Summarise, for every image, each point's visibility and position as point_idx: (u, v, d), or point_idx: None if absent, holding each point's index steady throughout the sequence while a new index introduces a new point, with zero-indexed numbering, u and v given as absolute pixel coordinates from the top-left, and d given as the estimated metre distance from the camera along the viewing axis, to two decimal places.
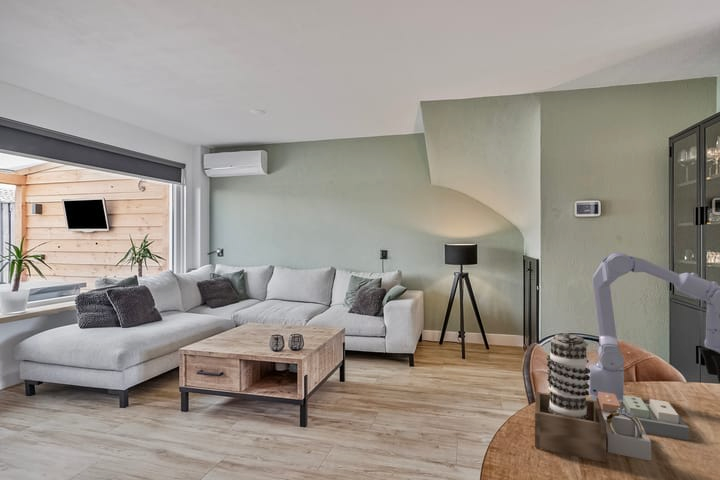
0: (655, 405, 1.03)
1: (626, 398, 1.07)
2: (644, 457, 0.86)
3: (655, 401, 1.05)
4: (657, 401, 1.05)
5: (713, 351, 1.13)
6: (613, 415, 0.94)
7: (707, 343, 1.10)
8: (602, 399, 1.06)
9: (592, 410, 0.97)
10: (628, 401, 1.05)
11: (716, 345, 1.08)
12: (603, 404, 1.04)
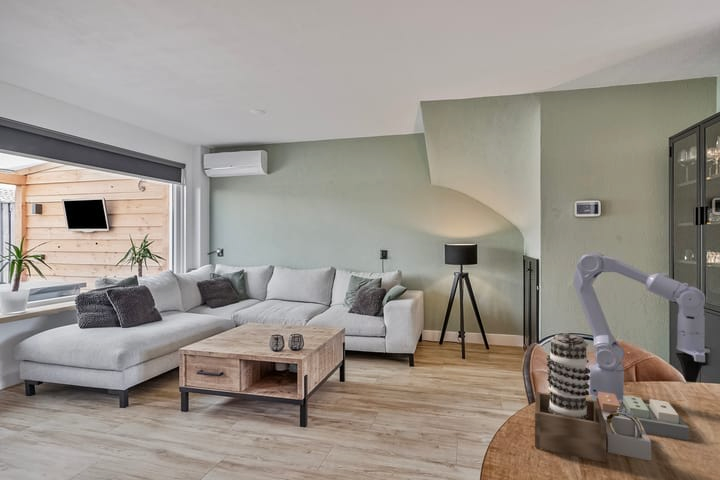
0: (655, 405, 1.03)
1: (626, 398, 1.07)
2: (644, 457, 0.86)
3: (655, 401, 1.05)
4: (657, 401, 1.05)
5: None
6: (613, 415, 0.94)
7: (678, 345, 1.09)
8: (602, 399, 1.06)
9: (592, 410, 0.97)
10: (628, 401, 1.05)
11: (687, 347, 1.07)
12: (603, 404, 1.04)
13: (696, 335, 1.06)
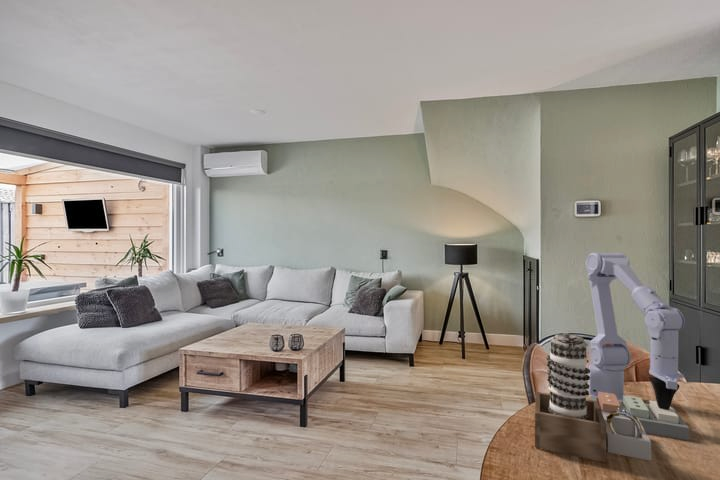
0: (655, 406, 1.03)
1: (626, 398, 1.07)
2: (644, 457, 0.86)
3: (655, 402, 1.05)
4: None
5: None
6: (613, 415, 0.94)
7: (651, 369, 1.02)
8: (602, 399, 1.06)
9: (592, 410, 0.97)
10: (628, 401, 1.05)
11: (659, 372, 1.00)
12: (603, 404, 1.04)
13: (669, 359, 0.99)
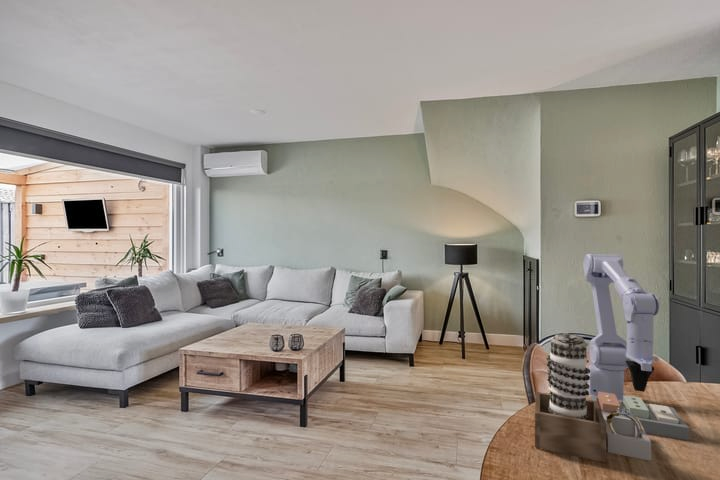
0: (655, 410, 1.03)
1: (626, 398, 1.07)
2: (644, 457, 0.86)
3: (655, 406, 1.05)
4: (657, 406, 1.05)
5: None
6: (613, 415, 0.94)
7: (627, 353, 1.04)
8: (602, 399, 1.06)
9: (592, 410, 0.97)
10: (628, 401, 1.05)
11: (635, 355, 1.02)
12: (603, 404, 1.04)
13: (644, 343, 1.01)
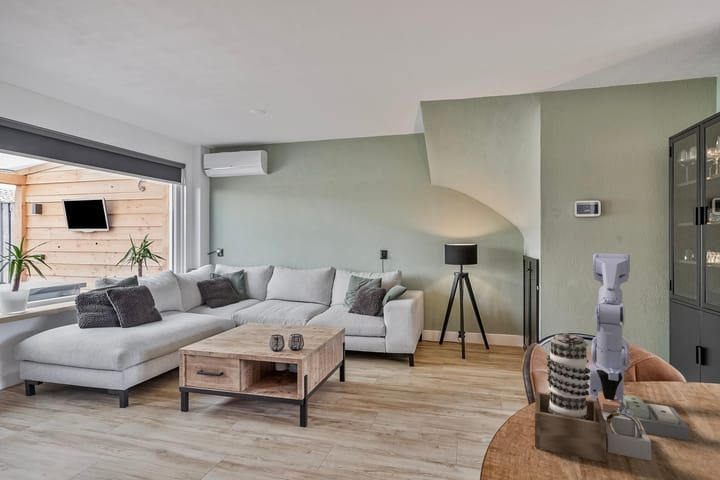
0: (655, 410, 1.03)
1: (626, 398, 1.07)
2: (644, 457, 0.86)
3: (655, 406, 1.05)
4: (657, 406, 1.05)
5: None
6: (613, 415, 0.94)
7: (597, 362, 1.07)
8: (602, 399, 1.06)
9: (592, 410, 0.97)
10: (628, 401, 1.05)
11: (604, 364, 1.05)
12: (603, 404, 1.04)
13: (613, 352, 1.04)
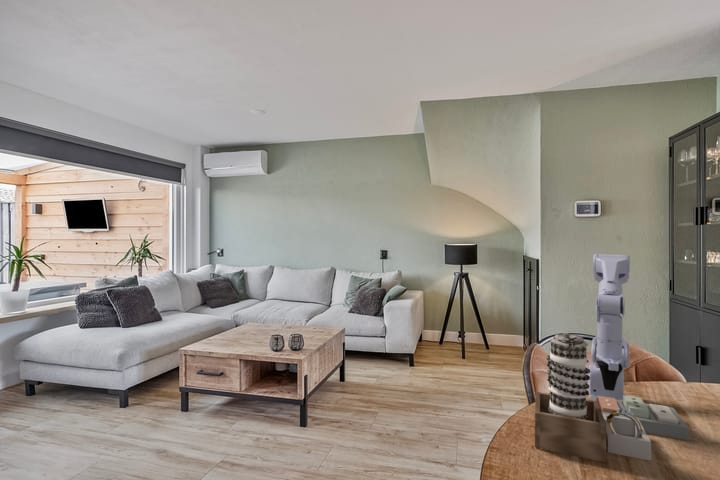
0: (655, 410, 1.03)
1: (626, 398, 1.07)
2: (644, 457, 0.86)
3: (655, 406, 1.05)
4: (657, 406, 1.05)
5: None
6: (613, 415, 0.94)
7: (597, 353, 1.07)
8: (602, 403, 1.06)
9: (592, 410, 0.97)
10: (628, 401, 1.05)
11: (604, 355, 1.05)
12: (603, 408, 1.04)
13: (613, 343, 1.04)
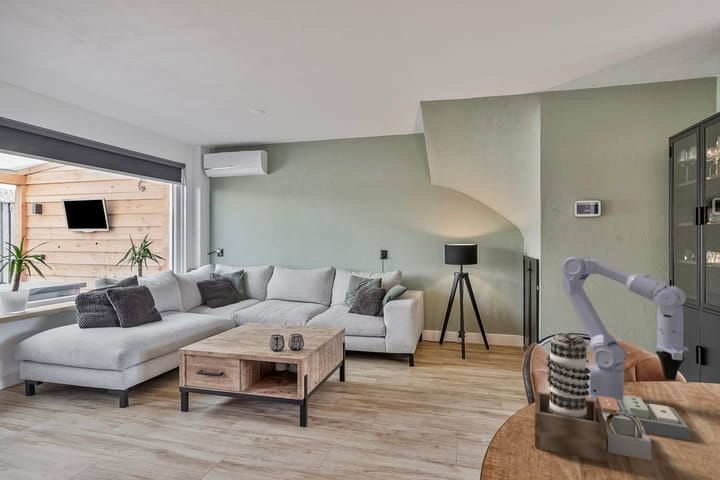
0: (655, 410, 1.03)
1: (626, 398, 1.07)
2: (644, 457, 0.86)
3: (655, 406, 1.05)
4: (657, 406, 1.05)
5: None
6: (613, 415, 0.94)
7: (658, 343, 1.10)
8: (602, 403, 1.06)
9: (592, 410, 0.97)
10: (628, 401, 1.05)
11: (666, 345, 1.08)
12: (603, 408, 1.04)
13: (675, 333, 1.07)
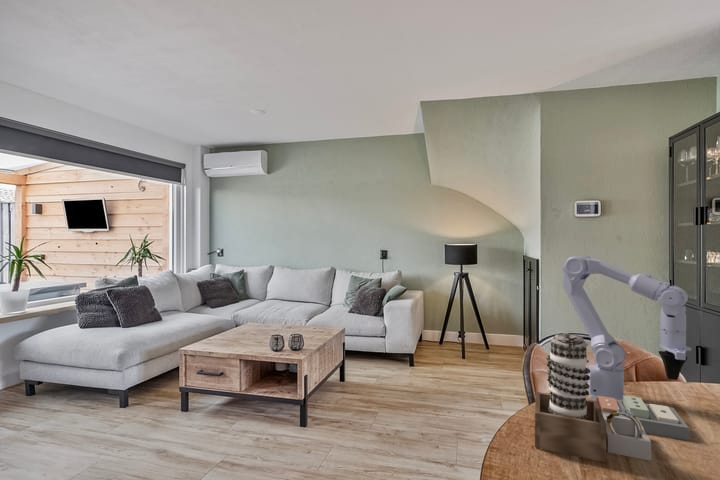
0: (655, 410, 1.03)
1: (626, 398, 1.07)
2: (644, 457, 0.86)
3: (655, 406, 1.05)
4: (657, 406, 1.05)
5: None
6: (613, 415, 0.94)
7: (661, 343, 1.10)
8: (602, 403, 1.06)
9: (592, 410, 0.97)
10: (628, 401, 1.05)
11: (669, 345, 1.08)
12: (603, 408, 1.04)
13: (677, 333, 1.07)
